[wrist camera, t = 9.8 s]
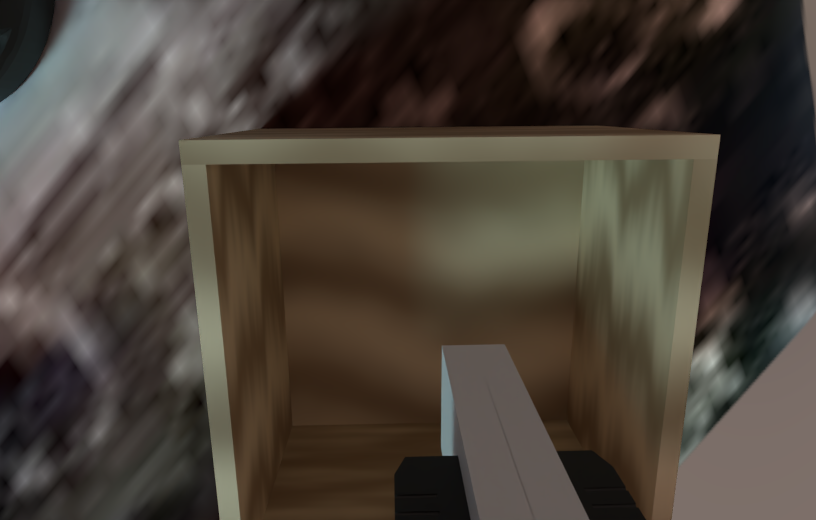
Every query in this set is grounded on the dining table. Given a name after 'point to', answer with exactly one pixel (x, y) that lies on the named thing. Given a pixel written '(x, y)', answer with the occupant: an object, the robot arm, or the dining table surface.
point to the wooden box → (439, 298)
